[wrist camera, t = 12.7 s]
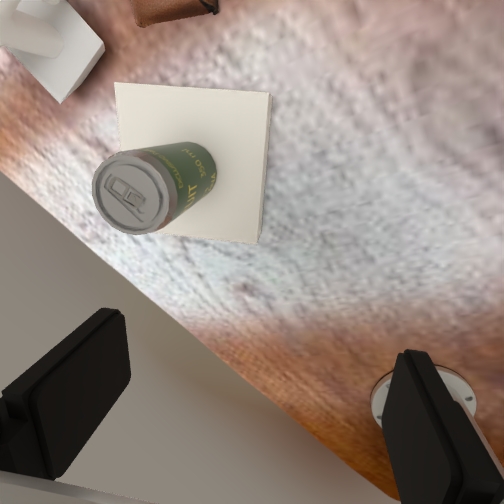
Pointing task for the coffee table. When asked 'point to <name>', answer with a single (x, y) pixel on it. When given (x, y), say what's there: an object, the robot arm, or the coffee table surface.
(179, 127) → the riser block
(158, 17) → the sunglasses case
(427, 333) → the coffee table surface
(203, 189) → the beer can
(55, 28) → the figurine
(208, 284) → the coffee table surface
